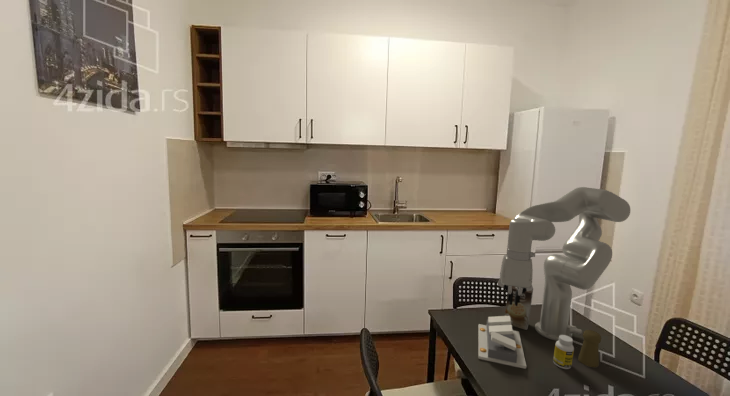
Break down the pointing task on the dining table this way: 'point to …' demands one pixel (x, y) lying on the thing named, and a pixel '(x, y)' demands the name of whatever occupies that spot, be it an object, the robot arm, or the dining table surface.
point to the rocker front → (503, 340)
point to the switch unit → (500, 348)
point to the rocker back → (499, 320)
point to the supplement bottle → (563, 352)
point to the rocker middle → (501, 329)
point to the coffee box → (519, 309)
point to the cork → (590, 349)
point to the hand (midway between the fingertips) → (513, 303)
